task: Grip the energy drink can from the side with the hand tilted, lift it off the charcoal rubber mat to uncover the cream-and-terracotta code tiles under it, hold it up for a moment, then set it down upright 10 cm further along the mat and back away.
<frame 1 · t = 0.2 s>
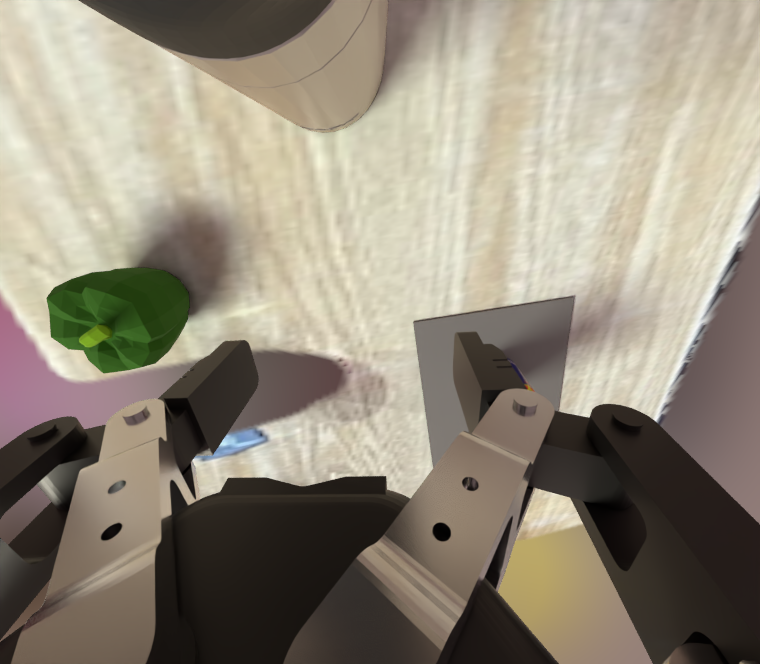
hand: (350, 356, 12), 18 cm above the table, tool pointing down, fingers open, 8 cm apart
code mat: (491, 399, 36), on the table
bell pepper: (165, 296, 30), on the table
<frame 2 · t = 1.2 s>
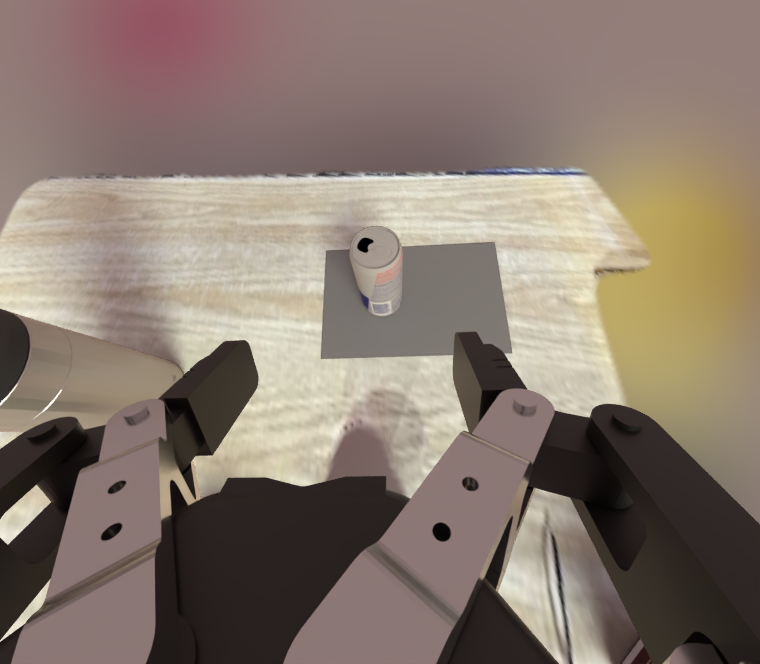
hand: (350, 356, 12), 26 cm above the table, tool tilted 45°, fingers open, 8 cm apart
code mat: (411, 298, 41), on the table
energy drink: (382, 299, 41), resting on code mat
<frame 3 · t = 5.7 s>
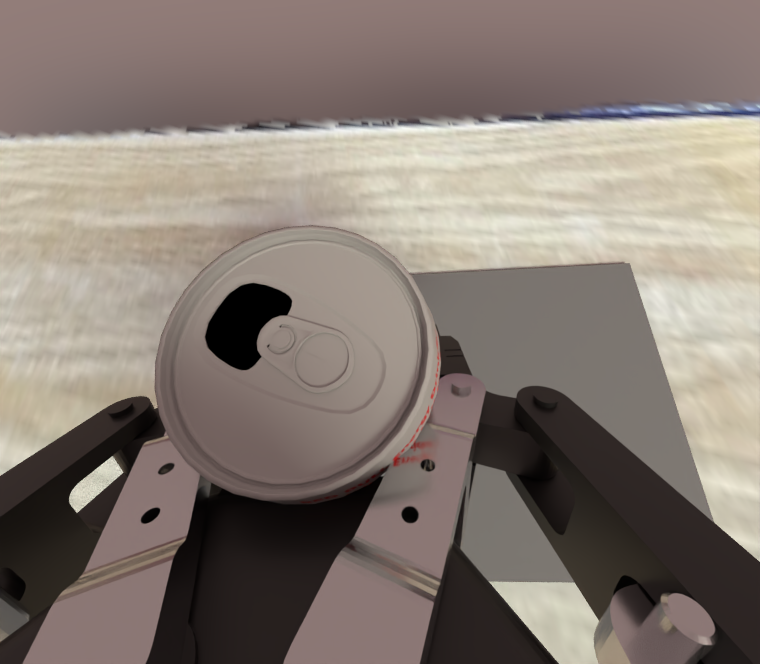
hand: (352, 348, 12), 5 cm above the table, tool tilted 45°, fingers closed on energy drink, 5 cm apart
code mat: (440, 403, 17), on the table
energy drink: (368, 405, 17), resting on code mat, touching gripper
when the fingers open (6 cm above the table, at t = 13.5 s): energy drink drops 1 cm, resting on code mat.
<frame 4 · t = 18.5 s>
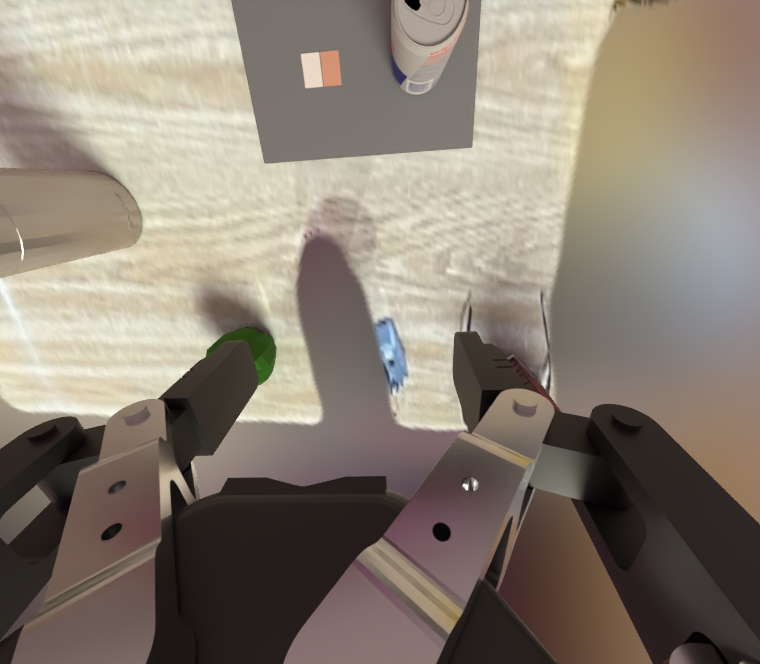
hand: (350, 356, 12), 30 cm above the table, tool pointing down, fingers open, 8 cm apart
code mat: (359, 66, 31), on the table
supplement box: (514, 377, 48), on the table
bell pepper: (258, 343, 47), on the table
energy drink: (417, 63, 31), resting on code mat
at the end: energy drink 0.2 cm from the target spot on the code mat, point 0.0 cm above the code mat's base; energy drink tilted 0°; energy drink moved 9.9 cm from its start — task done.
